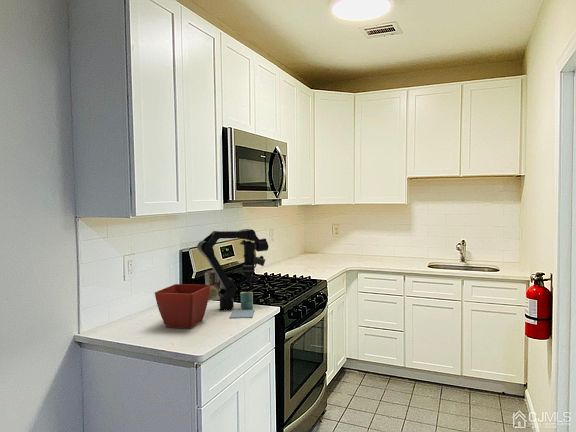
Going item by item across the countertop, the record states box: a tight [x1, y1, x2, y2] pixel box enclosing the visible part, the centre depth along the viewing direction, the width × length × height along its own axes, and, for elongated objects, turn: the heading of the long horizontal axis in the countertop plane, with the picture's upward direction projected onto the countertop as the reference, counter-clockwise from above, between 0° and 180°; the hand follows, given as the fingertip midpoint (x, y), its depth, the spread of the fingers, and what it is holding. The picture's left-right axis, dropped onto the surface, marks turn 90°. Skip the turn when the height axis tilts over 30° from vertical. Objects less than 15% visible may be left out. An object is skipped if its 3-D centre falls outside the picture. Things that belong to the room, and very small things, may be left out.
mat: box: [229, 309, 255, 319], centre depth 210 cm, size 11×12×1 cm
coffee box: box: [204, 270, 221, 301], centre depth 242 cm, size 9×6×16 cm
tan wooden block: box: [239, 291, 254, 310], centre depth 218 cm, size 6×3×9 cm, turn 90°
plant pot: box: [154, 283, 210, 329], centre depth 196 cm, size 19×19×17 cm
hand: (250, 281), depth 227 cm, fingers open, 9 cm apart
